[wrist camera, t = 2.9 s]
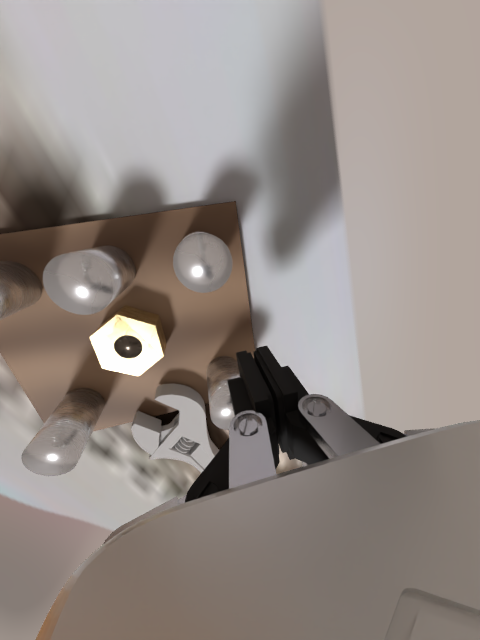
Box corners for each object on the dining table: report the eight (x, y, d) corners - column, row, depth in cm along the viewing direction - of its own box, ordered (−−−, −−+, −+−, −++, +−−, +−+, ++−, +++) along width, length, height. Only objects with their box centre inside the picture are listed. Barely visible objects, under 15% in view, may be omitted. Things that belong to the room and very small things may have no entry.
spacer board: (-60, 243, 14) (-68, 243, 14) (234, 202, 16) (235, 201, 16) (58, 435, 20) (55, 440, 20) (258, 387, 22) (260, 390, 22)
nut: (88, 335, 17) (76, 348, 15) (137, 294, 17) (130, 303, 15) (132, 370, 19) (126, 386, 17) (178, 333, 18) (176, 346, 16)
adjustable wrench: (279, 511, 30) (284, 527, 29) (234, 532, 30) (237, 549, 29) (187, 373, 20) (186, 387, 18) (117, 406, 20) (111, 423, 18)
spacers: (-25, 265, 14) (-126, 282, 10) (217, 228, 16) (227, 228, 12) (66, 422, 19) (27, 483, 15) (242, 381, 21) (256, 423, 17)
